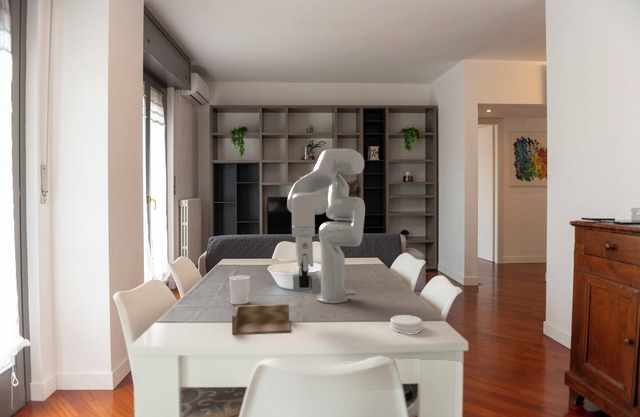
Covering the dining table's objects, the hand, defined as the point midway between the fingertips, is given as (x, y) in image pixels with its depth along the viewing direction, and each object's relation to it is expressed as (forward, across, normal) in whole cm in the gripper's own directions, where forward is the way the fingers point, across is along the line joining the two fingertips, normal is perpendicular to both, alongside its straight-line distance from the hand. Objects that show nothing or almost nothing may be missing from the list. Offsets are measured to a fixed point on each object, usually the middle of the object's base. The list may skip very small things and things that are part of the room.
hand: (303, 285), depth 142 cm
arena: (+12, -3, +14) cm, 19 cm away
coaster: (+13, -10, -32) cm, 36 cm away
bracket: (+1, -3, 0) cm, 3 cm away
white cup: (+13, +28, +23) cm, 39 cm away
